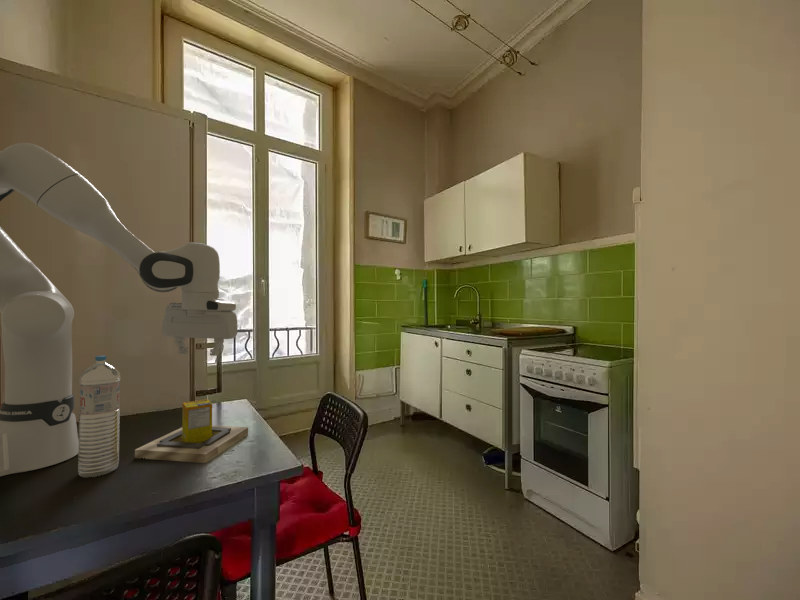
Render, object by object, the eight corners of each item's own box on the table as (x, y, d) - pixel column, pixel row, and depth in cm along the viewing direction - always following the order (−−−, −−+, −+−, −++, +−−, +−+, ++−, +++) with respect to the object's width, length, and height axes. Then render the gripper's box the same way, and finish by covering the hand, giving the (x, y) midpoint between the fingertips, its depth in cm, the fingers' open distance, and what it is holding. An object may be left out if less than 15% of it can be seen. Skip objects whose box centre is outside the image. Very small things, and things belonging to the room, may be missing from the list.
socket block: (134, 458, 85) (135, 447, 85) (188, 431, 102) (189, 422, 102) (205, 463, 82) (205, 452, 82) (248, 434, 100) (248, 425, 100)
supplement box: (206, 438, 97) (207, 398, 97) (212, 445, 92) (212, 403, 92) (181, 444, 93) (182, 402, 93) (185, 451, 88) (186, 407, 89)
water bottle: (87, 466, 80) (89, 354, 80) (124, 462, 82) (125, 353, 82) (70, 481, 74) (73, 359, 74) (111, 476, 76) (113, 357, 76)
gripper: (156, 302, 95) (154, 354, 95) (227, 304, 92) (225, 357, 92) (174, 302, 102) (173, 351, 101) (241, 304, 99) (239, 354, 98)
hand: (198, 354), depth 97 cm, fingers open, 8 cm apart
